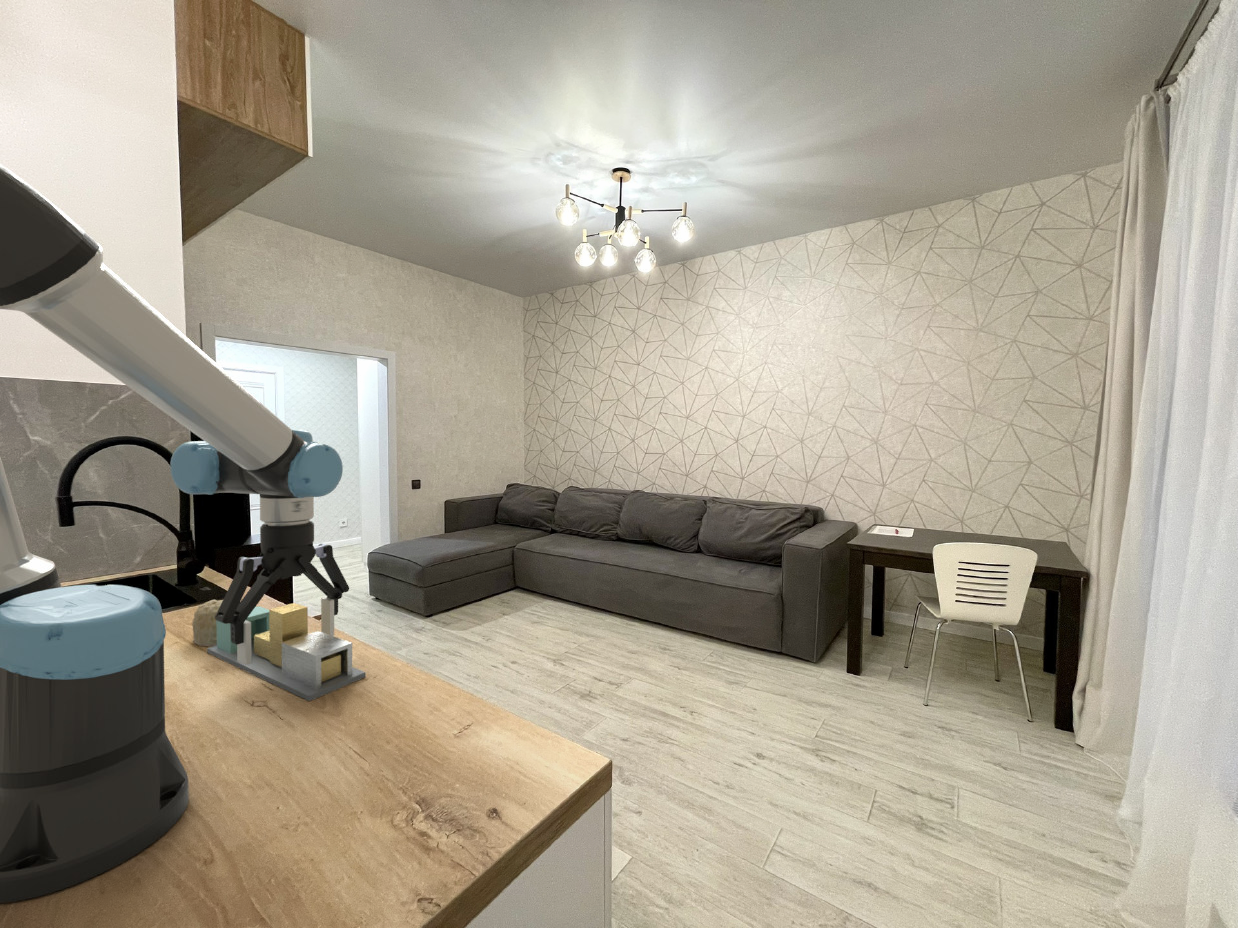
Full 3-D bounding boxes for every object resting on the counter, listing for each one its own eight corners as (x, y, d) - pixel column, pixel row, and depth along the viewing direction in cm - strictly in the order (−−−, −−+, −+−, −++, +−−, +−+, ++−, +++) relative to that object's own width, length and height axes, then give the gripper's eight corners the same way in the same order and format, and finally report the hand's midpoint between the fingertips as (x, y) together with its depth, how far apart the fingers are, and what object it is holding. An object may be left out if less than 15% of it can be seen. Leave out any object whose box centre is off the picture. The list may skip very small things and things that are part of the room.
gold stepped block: (318, 683, 77) (317, 626, 77) (251, 654, 87) (250, 603, 87) (343, 673, 81) (343, 618, 80) (276, 646, 91) (275, 597, 90)
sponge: (221, 649, 101) (185, 612, 98) (268, 617, 104) (234, 580, 101) (206, 668, 92) (165, 628, 90) (257, 633, 96) (219, 593, 93)
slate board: (309, 701, 74) (309, 695, 74) (207, 652, 90) (206, 648, 90) (365, 676, 82) (365, 672, 82) (262, 636, 98) (262, 632, 98)
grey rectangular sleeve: (316, 689, 76) (315, 656, 76) (281, 674, 81) (281, 642, 81) (352, 674, 81) (352, 642, 81) (318, 660, 86) (318, 630, 86)
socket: (230, 653, 88) (230, 622, 88) (216, 647, 90) (216, 616, 90) (273, 640, 94) (272, 611, 94) (259, 634, 96) (258, 606, 96)
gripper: (209, 535, 71) (212, 682, 72) (369, 514, 93) (370, 628, 94) (186, 530, 75) (188, 670, 76) (345, 511, 96) (345, 620, 97)
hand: (288, 647), depth 85 cm, fingers open, 12 cm apart
